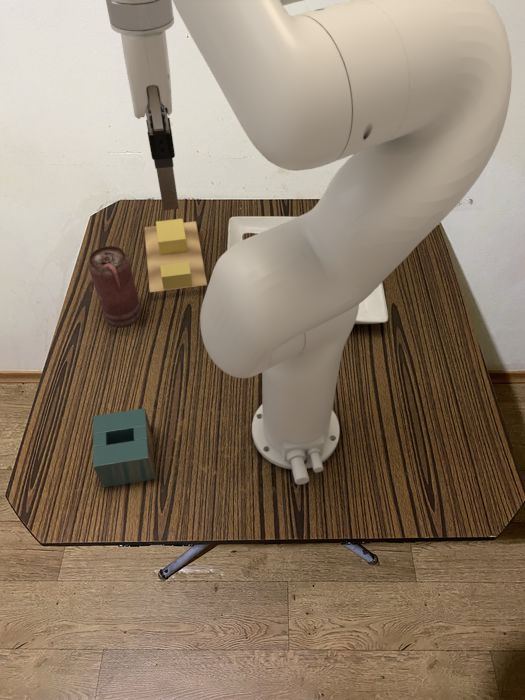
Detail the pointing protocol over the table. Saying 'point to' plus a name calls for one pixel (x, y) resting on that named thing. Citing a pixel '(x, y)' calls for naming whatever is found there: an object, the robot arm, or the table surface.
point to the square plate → (374, 304)
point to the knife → (167, 183)
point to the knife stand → (123, 448)
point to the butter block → (171, 236)
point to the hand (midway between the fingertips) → (162, 150)
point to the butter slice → (176, 275)
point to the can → (115, 286)
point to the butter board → (174, 257)
